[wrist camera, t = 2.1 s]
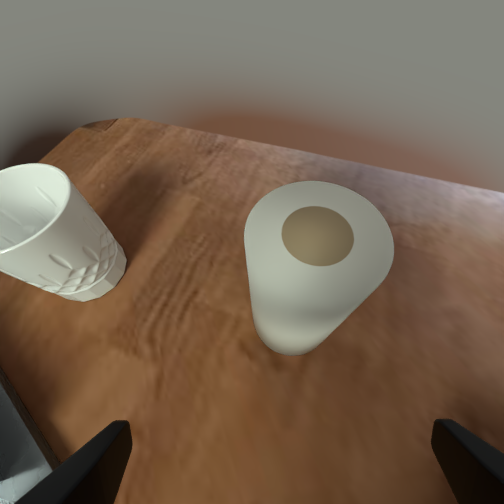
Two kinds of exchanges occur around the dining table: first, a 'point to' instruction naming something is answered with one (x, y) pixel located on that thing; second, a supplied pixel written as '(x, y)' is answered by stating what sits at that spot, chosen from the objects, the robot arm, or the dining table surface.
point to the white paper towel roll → (312, 261)
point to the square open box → (20, 447)
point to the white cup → (55, 235)
